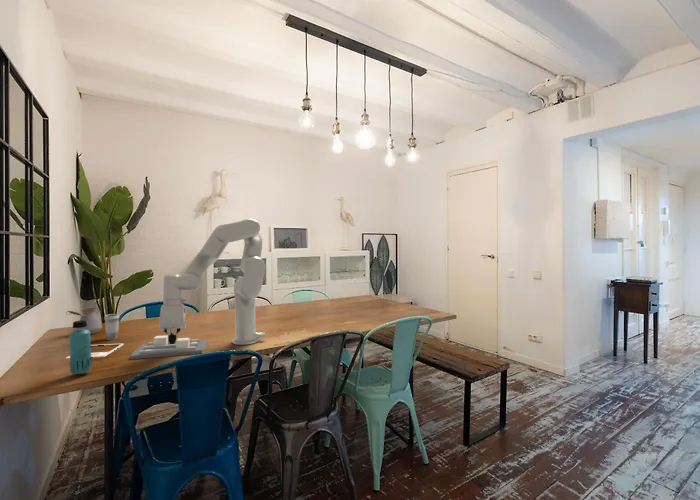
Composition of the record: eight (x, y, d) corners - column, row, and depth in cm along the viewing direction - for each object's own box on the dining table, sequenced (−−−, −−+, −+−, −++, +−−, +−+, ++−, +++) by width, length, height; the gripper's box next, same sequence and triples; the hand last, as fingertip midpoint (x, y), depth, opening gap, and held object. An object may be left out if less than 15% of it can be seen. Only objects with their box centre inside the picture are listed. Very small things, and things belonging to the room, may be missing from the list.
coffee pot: (85, 330, 192) (84, 303, 192) (107, 330, 193) (106, 303, 193) (55, 341, 171) (55, 311, 171) (80, 341, 172) (79, 310, 172)
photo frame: (65, 357, 146) (89, 344, 164) (65, 359, 146) (89, 347, 164) (104, 355, 149) (123, 343, 167) (104, 357, 149) (123, 345, 167)
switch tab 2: (189, 346, 159) (189, 337, 158) (188, 349, 155) (188, 340, 155) (177, 347, 157) (177, 338, 157) (175, 349, 153) (175, 340, 153)
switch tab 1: (168, 343, 162) (167, 335, 162) (166, 346, 159) (165, 337, 158) (156, 344, 161) (156, 336, 161) (153, 347, 157) (153, 338, 157)
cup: (120, 339, 175) (119, 315, 175) (103, 341, 172) (103, 317, 171) (119, 336, 181) (119, 313, 181) (104, 338, 177) (103, 314, 177)
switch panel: (207, 342, 170) (207, 337, 170) (202, 353, 154) (202, 347, 153) (142, 347, 162) (142, 341, 162) (130, 359, 146) (130, 353, 146)
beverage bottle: (74, 379, 125) (73, 323, 124) (66, 375, 128) (65, 321, 128) (95, 373, 130) (94, 320, 130) (87, 370, 134) (86, 318, 133)
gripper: (192, 300, 160) (192, 340, 160) (156, 301, 156) (155, 342, 156) (189, 303, 153) (189, 344, 153) (151, 304, 149) (151, 346, 149)
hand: (172, 343), depth 155 cm, fingers closed
